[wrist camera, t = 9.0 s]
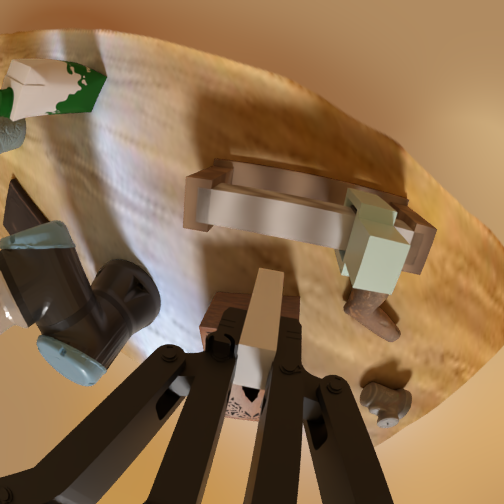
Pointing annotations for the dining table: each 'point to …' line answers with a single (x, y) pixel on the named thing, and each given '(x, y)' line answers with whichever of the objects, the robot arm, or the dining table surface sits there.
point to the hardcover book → (20, 210)
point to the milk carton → (48, 88)
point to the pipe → (371, 313)
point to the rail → (300, 190)
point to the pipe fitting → (386, 403)
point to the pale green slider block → (372, 245)
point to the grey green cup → (11, 133)
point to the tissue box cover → (241, 398)
